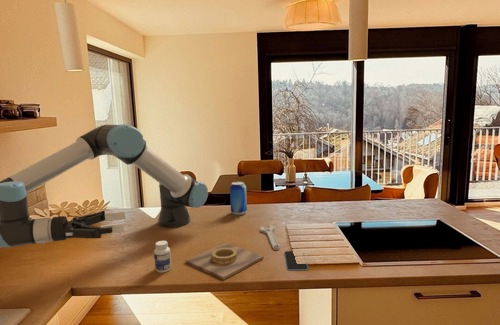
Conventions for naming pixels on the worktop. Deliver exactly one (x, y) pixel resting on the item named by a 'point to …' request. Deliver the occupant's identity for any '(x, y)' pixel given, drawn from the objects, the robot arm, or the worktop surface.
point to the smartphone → (293, 262)
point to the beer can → (238, 198)
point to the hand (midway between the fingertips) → (124, 221)
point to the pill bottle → (162, 257)
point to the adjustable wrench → (270, 236)
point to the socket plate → (224, 268)
